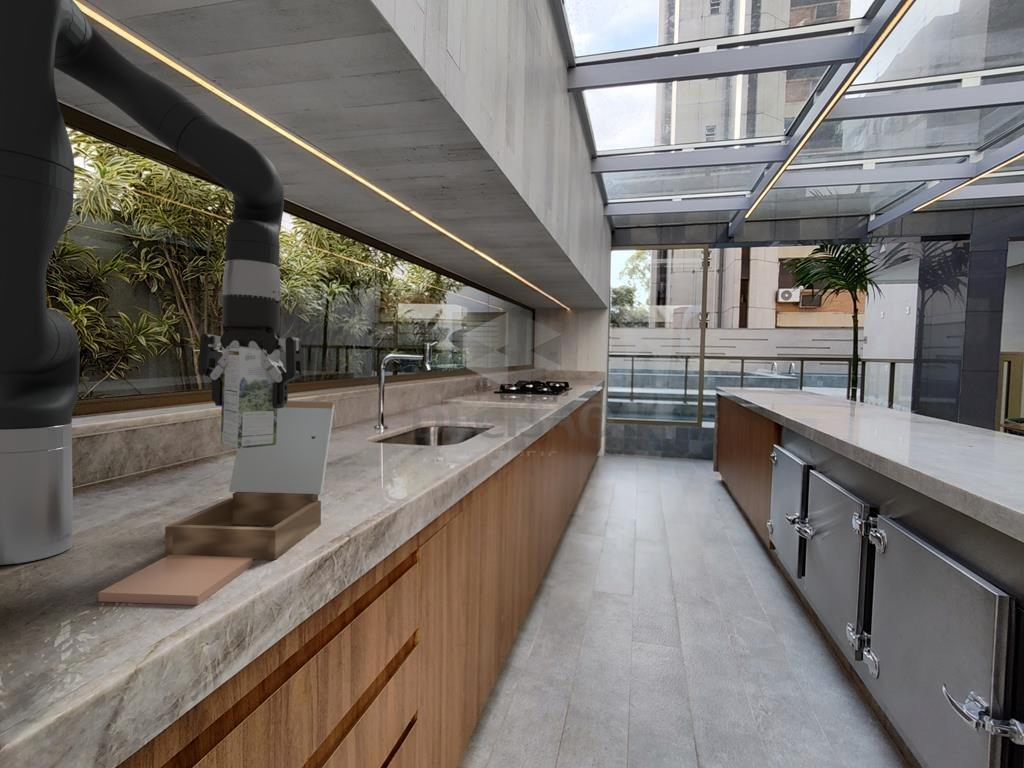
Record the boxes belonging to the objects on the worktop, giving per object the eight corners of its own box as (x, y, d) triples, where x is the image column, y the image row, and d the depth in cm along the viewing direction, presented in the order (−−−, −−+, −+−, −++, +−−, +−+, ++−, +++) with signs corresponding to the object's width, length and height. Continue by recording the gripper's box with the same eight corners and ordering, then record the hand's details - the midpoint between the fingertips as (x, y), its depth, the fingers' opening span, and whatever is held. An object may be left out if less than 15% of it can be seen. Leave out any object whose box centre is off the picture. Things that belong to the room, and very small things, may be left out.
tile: (98, 601, 56) (98, 592, 56) (169, 562, 67) (169, 554, 67) (197, 604, 55) (197, 595, 55) (252, 565, 66) (252, 557, 66)
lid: (228, 493, 83) (228, 402, 83) (249, 484, 89) (249, 399, 89) (320, 495, 83) (320, 404, 82) (334, 486, 89) (335, 401, 88)
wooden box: (165, 556, 69) (164, 452, 68) (243, 515, 88) (243, 433, 87) (275, 559, 68) (275, 455, 68) (330, 517, 87) (330, 435, 87)
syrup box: (259, 441, 80) (261, 347, 79) (277, 445, 76) (280, 347, 75) (219, 444, 75) (221, 345, 75) (237, 449, 71) (239, 345, 71)
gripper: (187, 290, 71) (185, 407, 72) (288, 293, 71) (285, 411, 71) (219, 297, 79) (217, 403, 79) (311, 300, 78) (308, 406, 79)
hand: (250, 406), depth 75 cm, fingers closed on syrup box, 8 cm apart
